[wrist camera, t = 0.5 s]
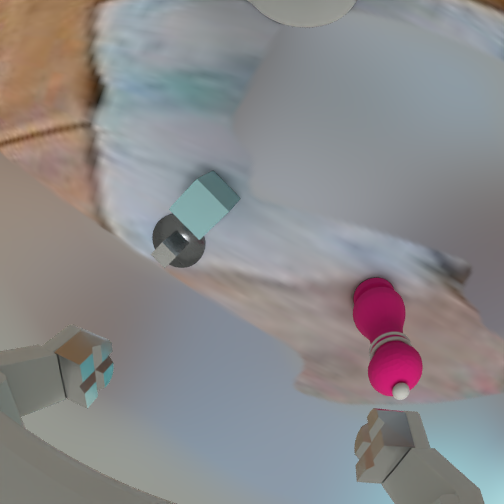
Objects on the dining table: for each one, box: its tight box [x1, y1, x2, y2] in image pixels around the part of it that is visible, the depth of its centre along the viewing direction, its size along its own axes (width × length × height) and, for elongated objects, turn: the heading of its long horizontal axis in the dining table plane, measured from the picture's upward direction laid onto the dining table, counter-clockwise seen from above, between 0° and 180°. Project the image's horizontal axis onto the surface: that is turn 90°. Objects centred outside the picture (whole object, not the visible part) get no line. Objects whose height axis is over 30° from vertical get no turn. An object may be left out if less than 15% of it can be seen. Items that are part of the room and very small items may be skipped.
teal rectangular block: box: [169, 171, 241, 240], centre depth 40 cm, size 5×5×7 cm
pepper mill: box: [353, 278, 422, 400], centre depth 35 cm, size 7×7×20 cm
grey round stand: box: [151, 214, 205, 268], centre depth 44 cm, size 8×8×6 cm
